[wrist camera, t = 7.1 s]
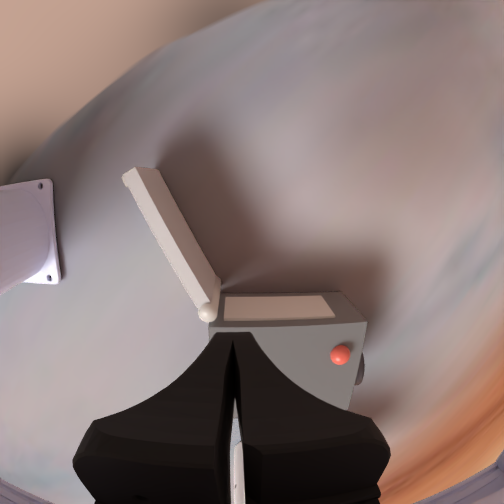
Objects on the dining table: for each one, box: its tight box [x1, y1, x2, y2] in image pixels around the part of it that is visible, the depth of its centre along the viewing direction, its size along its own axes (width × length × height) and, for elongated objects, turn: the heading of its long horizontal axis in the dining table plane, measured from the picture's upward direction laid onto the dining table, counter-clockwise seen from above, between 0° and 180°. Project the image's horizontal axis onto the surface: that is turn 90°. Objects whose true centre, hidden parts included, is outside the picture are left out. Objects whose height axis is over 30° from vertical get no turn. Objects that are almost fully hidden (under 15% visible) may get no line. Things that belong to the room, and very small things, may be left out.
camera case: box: [208, 291, 368, 418], centre depth 19 cm, size 10×7×6 cm
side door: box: [122, 167, 221, 322], centre depth 17 cm, size 9×2×5 cm, turn 27°
